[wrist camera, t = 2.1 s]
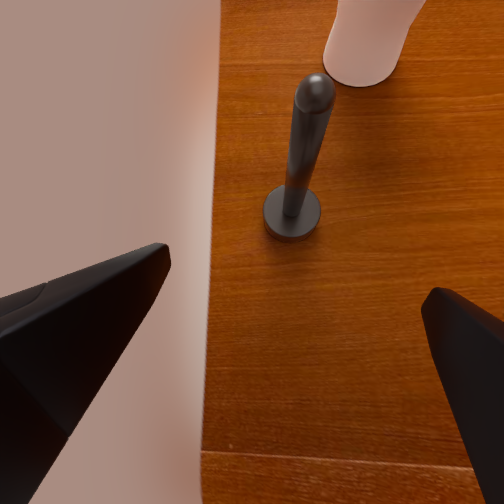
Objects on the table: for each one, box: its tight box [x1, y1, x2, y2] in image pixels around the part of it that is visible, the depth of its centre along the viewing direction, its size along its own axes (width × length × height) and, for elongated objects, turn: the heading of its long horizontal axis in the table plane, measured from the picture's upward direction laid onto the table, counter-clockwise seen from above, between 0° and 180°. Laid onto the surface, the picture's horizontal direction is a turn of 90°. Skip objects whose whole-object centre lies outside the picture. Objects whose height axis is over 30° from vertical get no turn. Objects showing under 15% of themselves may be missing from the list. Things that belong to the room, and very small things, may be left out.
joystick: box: [263, 73, 336, 243], centre depth 16 cm, size 5×5×14 cm
